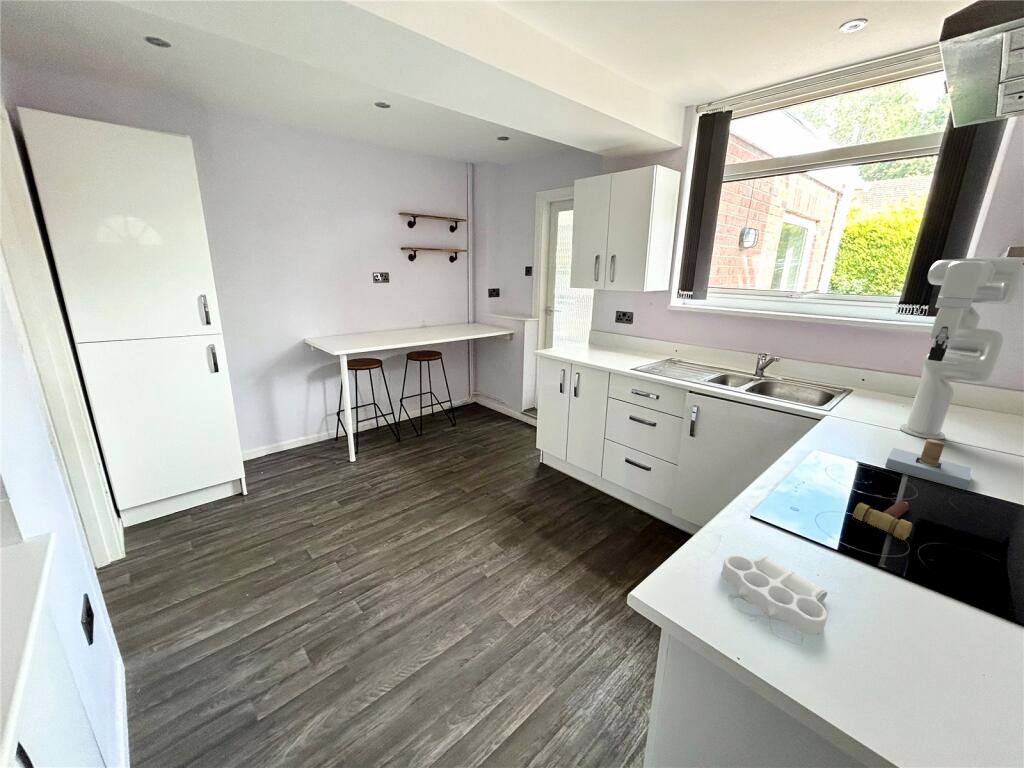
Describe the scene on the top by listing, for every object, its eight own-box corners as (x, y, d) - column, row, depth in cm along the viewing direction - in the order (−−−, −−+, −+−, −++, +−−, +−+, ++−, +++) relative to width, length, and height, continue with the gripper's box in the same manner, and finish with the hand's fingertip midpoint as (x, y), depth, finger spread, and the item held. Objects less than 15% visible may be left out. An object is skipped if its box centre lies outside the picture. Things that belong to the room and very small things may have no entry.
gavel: (885, 487, 115) (934, 504, 108) (880, 502, 117) (928, 520, 109) (855, 504, 104) (908, 526, 96) (850, 521, 105) (902, 543, 97)
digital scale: (890, 455, 141) (893, 447, 141) (967, 476, 129) (970, 467, 128) (885, 466, 134) (887, 458, 133) (966, 489, 121) (969, 480, 120)
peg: (917, 467, 134) (926, 438, 131) (935, 471, 131) (945, 442, 128) (915, 471, 131) (925, 441, 129) (934, 476, 129) (944, 446, 126)
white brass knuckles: (844, 613, 77) (804, 649, 70) (748, 555, 92) (707, 579, 85) (849, 598, 76) (809, 633, 69) (751, 542, 91) (709, 566, 84)
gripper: (938, 301, 137) (922, 352, 142) (934, 304, 126) (916, 359, 131) (971, 303, 132) (953, 356, 137) (970, 306, 120) (950, 364, 125)
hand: (935, 358), depth 134 cm, fingers open, 9 cm apart
